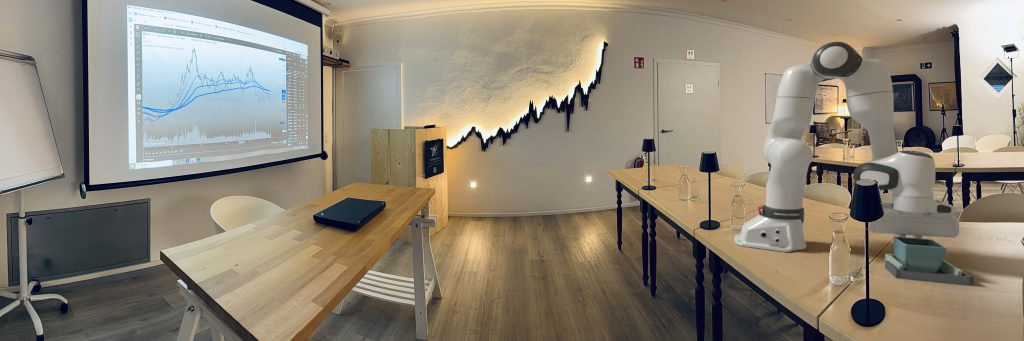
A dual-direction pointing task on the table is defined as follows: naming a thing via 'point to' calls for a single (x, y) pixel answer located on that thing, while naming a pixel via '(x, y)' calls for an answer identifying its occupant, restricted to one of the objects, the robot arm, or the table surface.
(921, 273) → the frame
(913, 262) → the flower pot
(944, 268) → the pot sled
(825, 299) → the table surface
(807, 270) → the table surface
